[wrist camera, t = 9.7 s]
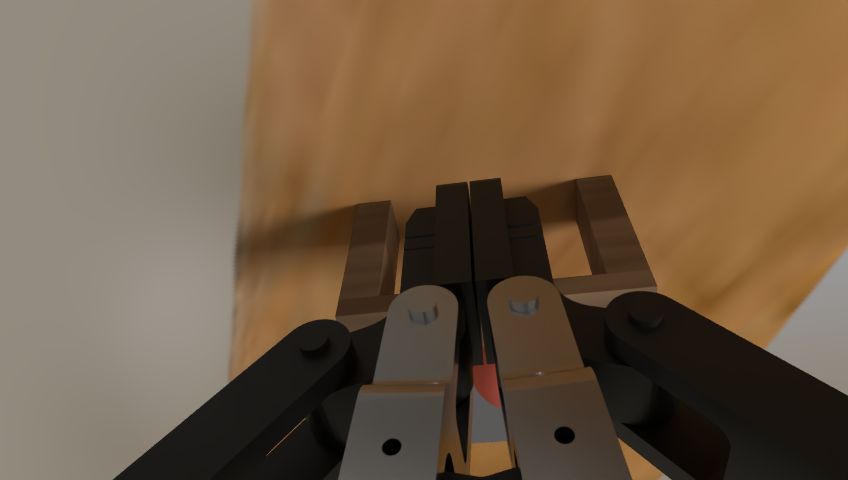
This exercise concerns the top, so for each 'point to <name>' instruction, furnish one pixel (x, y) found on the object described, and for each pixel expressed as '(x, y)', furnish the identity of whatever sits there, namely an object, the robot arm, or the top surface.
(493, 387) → the ball
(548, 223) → the top surface
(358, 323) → the bridge
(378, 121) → the top surface
